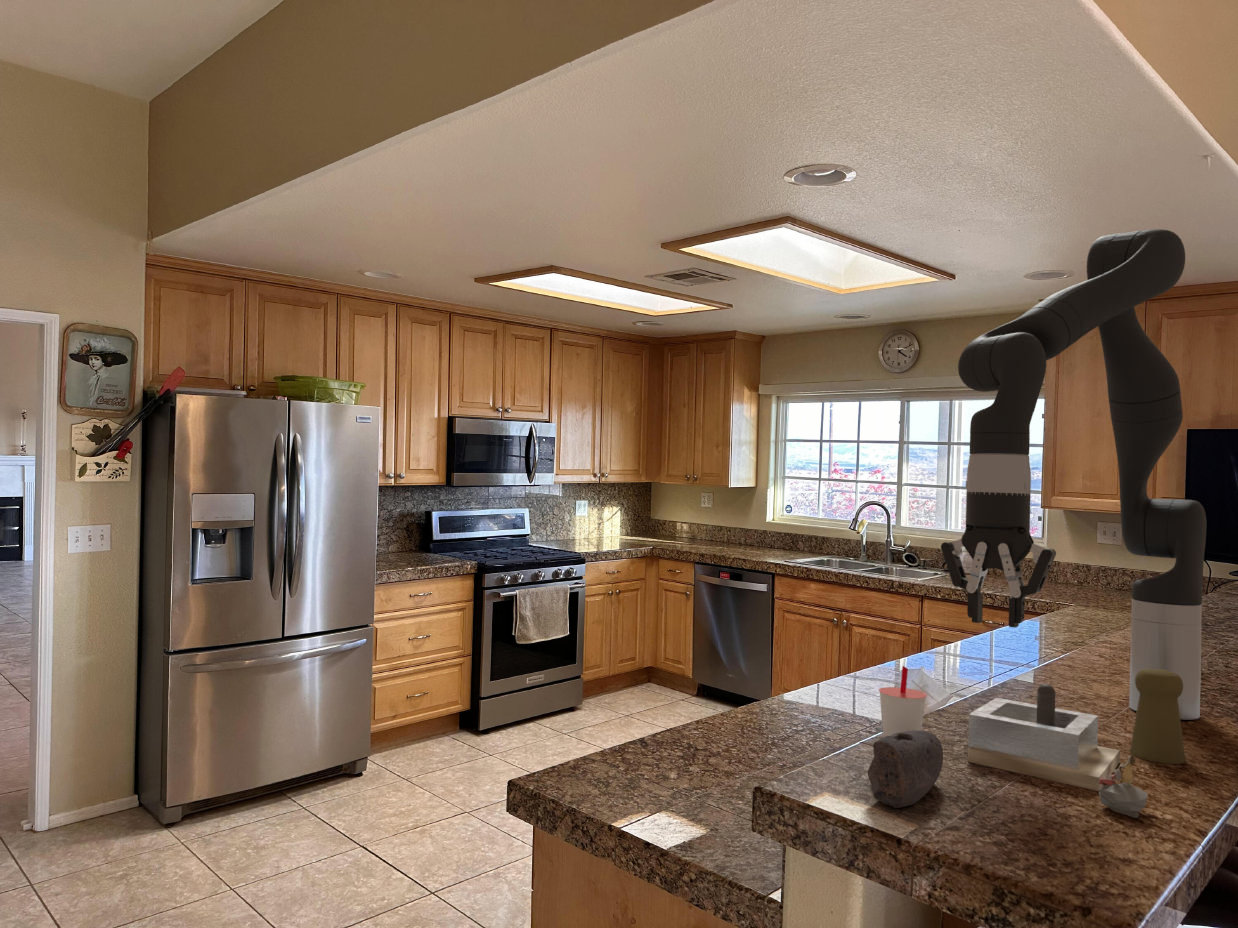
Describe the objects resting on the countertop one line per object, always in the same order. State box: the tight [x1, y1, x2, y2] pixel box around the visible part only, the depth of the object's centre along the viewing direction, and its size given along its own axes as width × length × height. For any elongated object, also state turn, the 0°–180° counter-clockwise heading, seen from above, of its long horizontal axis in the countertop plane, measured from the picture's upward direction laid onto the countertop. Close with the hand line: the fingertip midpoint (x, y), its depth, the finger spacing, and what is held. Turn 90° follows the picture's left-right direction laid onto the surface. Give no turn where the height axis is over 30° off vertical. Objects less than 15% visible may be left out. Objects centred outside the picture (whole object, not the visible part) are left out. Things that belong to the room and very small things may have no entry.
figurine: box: [1098, 754, 1149, 819], centre depth 88 cm, size 5×4×6 cm
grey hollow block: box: [967, 697, 1099, 770], centre depth 104 cm, size 12×12×4 cm
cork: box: [1129, 668, 1187, 765], centre depth 108 cm, size 6×6×11 cm
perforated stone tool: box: [867, 730, 944, 809], centre depth 90 cm, size 15×5×7 cm, turn 138°
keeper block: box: [967, 683, 1121, 792], centre depth 103 cm, size 14×14×10 cm
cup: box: [878, 665, 928, 738], centre depth 99 cm, size 5×5×12 cm
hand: (994, 623), depth 108 cm, fingers open, 4 cm apart
